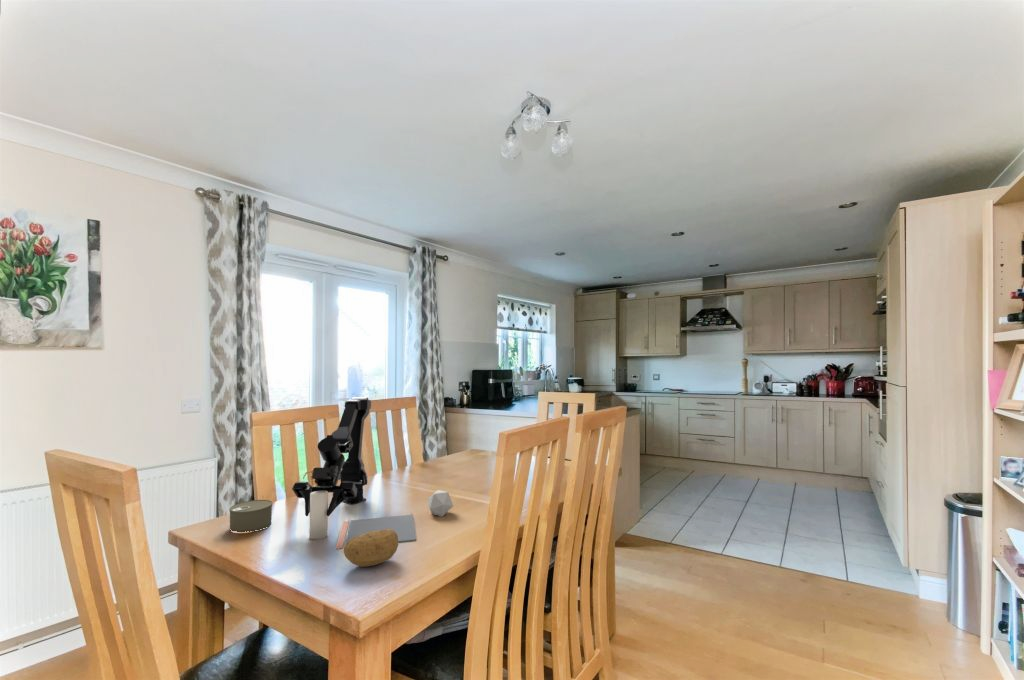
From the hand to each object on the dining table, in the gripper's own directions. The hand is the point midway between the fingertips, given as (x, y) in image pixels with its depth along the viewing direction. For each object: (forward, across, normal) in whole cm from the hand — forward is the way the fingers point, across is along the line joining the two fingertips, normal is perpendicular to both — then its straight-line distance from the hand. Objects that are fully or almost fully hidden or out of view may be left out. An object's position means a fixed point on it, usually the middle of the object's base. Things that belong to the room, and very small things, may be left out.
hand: (316, 515), depth 135 cm
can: (-2, -25, +11) cm, 28 cm away
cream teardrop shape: (+4, 0, +6) cm, 7 cm away
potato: (+17, +22, -8) cm, 29 cm away
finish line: (+3, +7, +6) cm, 10 cm away
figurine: (-24, -19, +34) cm, 46 cm away
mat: (+1, +18, +9) cm, 20 cm away
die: (-10, +34, +19) cm, 40 cm away
